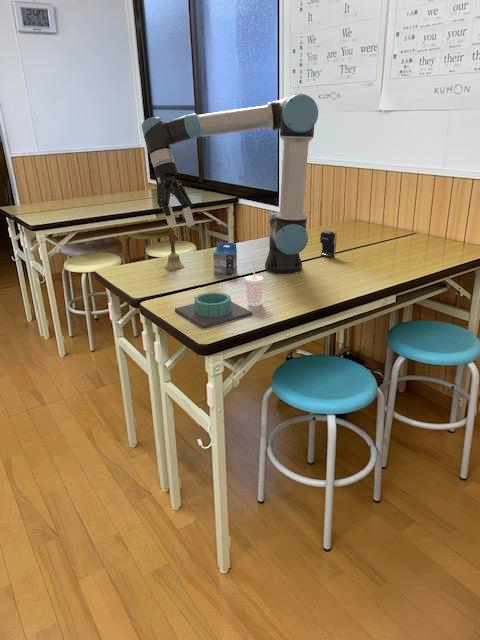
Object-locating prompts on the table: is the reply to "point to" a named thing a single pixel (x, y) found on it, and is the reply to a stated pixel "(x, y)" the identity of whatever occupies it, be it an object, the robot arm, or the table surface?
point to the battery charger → (328, 243)
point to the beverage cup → (254, 288)
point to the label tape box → (225, 259)
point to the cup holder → (212, 310)
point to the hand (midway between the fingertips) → (182, 225)
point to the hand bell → (173, 255)
